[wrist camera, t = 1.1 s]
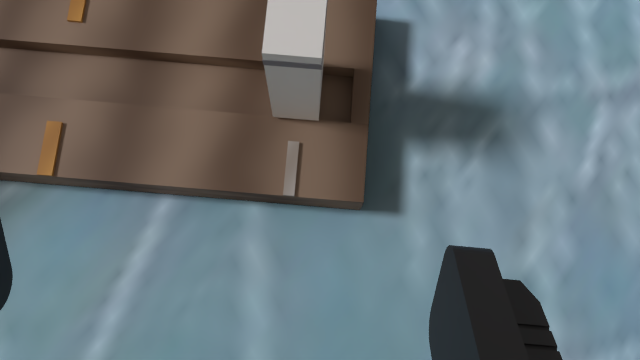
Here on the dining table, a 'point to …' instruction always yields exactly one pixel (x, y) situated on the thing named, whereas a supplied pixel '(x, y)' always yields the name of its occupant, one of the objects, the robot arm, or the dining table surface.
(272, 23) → the fader tab
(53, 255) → the dining table surface
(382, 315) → the dining table surface
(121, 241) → the dining table surface
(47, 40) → the fader console
